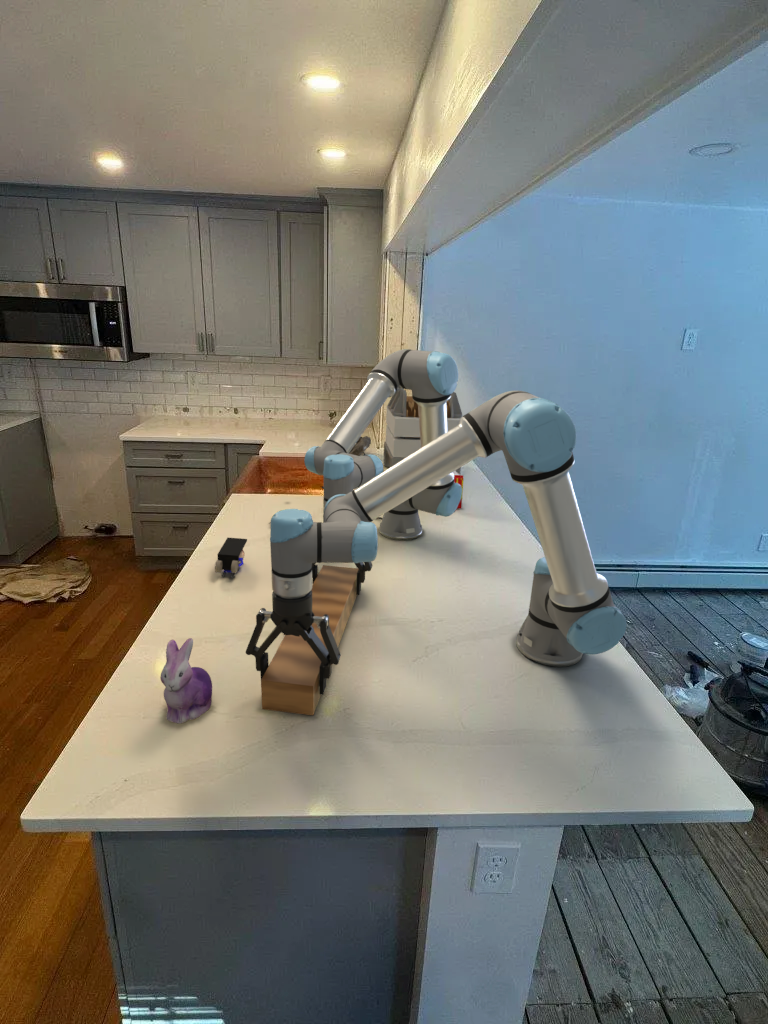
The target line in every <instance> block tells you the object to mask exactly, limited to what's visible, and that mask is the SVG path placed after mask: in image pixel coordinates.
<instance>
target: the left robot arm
mask: <svg viewBox="0 0 768 1024" xmlns="http://www.w3.org/2000/svg"><path fill="white" fill-rule="evenodd" d="M458 382H459V368H458V365H457V362H456V360H455V358H454V357H452V355H451V354H449V353H445V352H440V351H437V350H435V351H433V350H419V349H410V348H403V349H398V350H396V351H394V352H392V353H390V354H388V355H387V356H386V357H384V358H383V359H381V360H380V361H379V362H378V363H377V364H375V366H374V367H373V368H372V370H371V371H370V372H369V373H368V375H367V377H366V384H365V385H364V386H363V388H362V389H361V391H360V392H359V393H358V395H357V396H356V397H355V399H354V400H353V401H352V403H351V404H350V405H349V407H348V409H346V412H345V413H344V414H343V415H342V417H341V418H340V419H339V421H338V422H337V424H336V425H335V426H334V428H333V429H332V431H331V432H330V433H329V435H328V436H327V437H326V439H325V440H324V441H323V443H322V444H321V446H319V445H317V446H315V445H314V446H311V447H309V448H308V449H307V451H306V452H305V455H304V460H303V461H304V466H305V469H306V470H308V471H309V472H310V473H312V474H314V475H315V474H316V475H318V476H323V477H322V478H323V485H322V486H321V488H322V489H323V499H322V500H323V501H322V502H323V504H322V506H323V507H322V511H323V513H324V508H325V505H326V503H327V501H328V500H329V499H330V498H331V497H333V496H335V495H338V494H348V493H349V492H351V491H353V490H355V489H357V488H358V487H360V486H361V485H363V484H365V483H366V482H368V481H369V480H371V479H373V478H374V477H376V476H377V475H379V474H381V473H382V472H384V464H383V461H382V459H380V457H379V456H377V455H375V454H365V455H364V454H363V455H359V456H357V455H353V454H349V452H350V451H351V449H352V448H353V447H354V445H355V444H356V442H357V441H358V439H359V438H360V437H362V436H363V434H364V433H365V431H366V429H367V428H368V427H369V425H370V424H371V423H372V422H373V419H374V418H375V417H376V416H377V414H378V412H379V411H380V409H381V408H382V406H383V405H384V404H385V402H386V401H387V399H388V398H392V396H393V395H394V394H395V392H396V391H397V390H399V389H404V390H409V391H411V396H412V398H413V401H415V402H416V403H417V404H418V412H419V426H420V440H421V448H422V447H424V446H425V445H427V444H429V443H430V442H432V441H433V440H435V439H437V438H438V437H440V436H441V435H443V434H445V433H446V432H448V430H447V408H446V402H447V401H448V400H449V399H450V397H451V394H452V393H453V392H455V391H456V389H457V387H458ZM461 496H462V497H463V495H462V487H461V485H460V484H458V483H455V482H454V474H453V473H450V474H449V475H447V476H445V477H444V478H442V479H440V480H439V481H437V482H436V483H434V484H432V485H431V486H429V487H427V488H426V489H424V490H422V491H421V492H419V493H417V494H416V495H414V496H412V497H411V498H409V499H408V500H406V501H404V502H403V503H401V504H399V505H398V506H396V507H394V508H393V509H391V510H389V511H388V512H386V513H384V514H383V515H382V517H381V516H380V517H378V518H376V519H377V520H381V522H379V527H378V533H379V534H380V535H381V536H382V537H385V538H387V539H389V540H395V541H410V540H415V539H418V538H420V537H421V536H422V535H423V525H422V524H421V518H420V515H419V511H421V512H425V513H429V514H433V515H435V516H440V517H450V516H452V515H453V514H454V513H455V512H456V510H457V509H458V508H457V507H458V505H459V502H460V500H461ZM322 523H324V520H322ZM353 564H354V565H355V566H356V568H358V572H357V589H356V595H357V596H360V593H361V591H362V584H364V583H365V580H366V572H371V571H372V568H373V563H372V561H371V562H359V563H353ZM318 574H319V565H318V564H317V563H312V584H313V583H314V581H315V579H316V577H317V576H318Z"/></svg>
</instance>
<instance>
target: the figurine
mask: <svg viewBox="0 0 768 1024" xmlns="http://www.w3.org/2000/svg"><path fill="white" fill-rule="evenodd" d="M193 646H194V639H193V638H192V637H188V639H186V640H185V641H184V643H183V644H182V645H181V646H180V648H179V646H178V643H177V642H176V640H175V639H172V638H171V640H169V641H168V642H167V644H166V649H165V657H166V658H165V659H166V661H165V664H164V666H163V668H162V670H161V672H160V676H159V679H160V682H161V683H162V684H163V685H164V686H165V688H164V689H163V699H164V701H165V704H166V707H167V710H166V711H167V712H166V716H165V717H166V720H167V721H168V722H171V723H176V724H184V723H186V722H187V721H190V720H196V719H197V718H199V717H200V716H202V715H203V714H205V713H206V712H207V711H208V710H210V709H211V706H212V700H213V699H212V696H213V682H212V678H211V676H210V674H209V673H208V671H207V670H206V669H204V668H203V667H199V666H191V664H190V658H191V655H192V650H193Z"/></svg>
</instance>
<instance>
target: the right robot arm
mask: <svg viewBox="0 0 768 1024" xmlns="http://www.w3.org/2000/svg"><path fill="white" fill-rule="evenodd" d="M576 444H577V428H576V425H575V423H574V421H573V418H572V417H571V416H570V414H569V413H568V412H567V411H566V410H565V409H563V408H562V407H561V406H560V405H559V404H557V403H555V402H554V401H552V400H549V399H548V398H547V399H546V398H542V397H539V396H536V395H534V394H532V393H530V392H528V391H525V390H509V391H505V392H502V393H500V394H497V395H495V396H493V397H492V398H490V399H488V400H486V401H484V402H483V403H482V404H480V405H478V406H476V407H475V408H473V409H472V410H470V411H469V412H467V413H466V414H464V415H462V417H461V419H460V422H459V425H458V426H456V427H454V428H453V429H451V430H450V431H448V432H446V433H445V434H443V435H441V436H440V437H438V438H437V439H435V440H433V441H432V442H430V443H429V444H427V445H425V446H424V447H422V448H421V449H419V450H417V451H416V452H414V453H413V454H411V455H409V456H408V457H406V458H405V459H403V460H401V461H400V462H398V463H397V464H395V465H393V466H392V467H388V468H386V469H385V470H383V472H382V473H381V474H379V475H377V476H376V477H374V478H373V479H371V480H369V481H368V482H366V483H365V484H363V485H361V486H360V487H358V488H356V489H353V491H351V492H349V493H348V494H338V495H335V496H333V497H331V498H330V499H329V500H328V501H327V503H326V505H325V508H324V513H323V514H322V519H323V520H324V523H323V522H320V521H319V522H318V521H317V522H316V521H314V520H313V516H312V514H311V513H310V512H309V511H308V510H305V509H298V508H286V509H282V510H278V511H277V512H275V513H274V514H273V515H272V517H271V518H270V522H271V523H270V532H269V533H270V534H269V544H270V564H271V566H270V567H271V571H270V572H271V590H272V593H271V600H272V601H271V603H272V605H271V606H272V610H271V611H270V610H267V609H266V608H265V607H261V608H260V609H259V611H258V612H257V613H256V614H255V615H256V616H255V622H256V624H255V627H254V629H253V631H252V634H251V637H250V639H249V642H248V644H247V647H246V649H245V654H246V655H247V656H253V657H254V658H255V670H256V671H257V672H260V680H261V679H262V677H263V676H264V674H265V672H266V670H267V668H268V666H269V664H270V663H269V652H267V650H268V649H269V648H270V646H271V645H272V644H273V643H274V642H275V640H276V639H277V638H278V637H279V636H280V634H281V633H282V634H283V636H285V635H294V636H300V635H301V637H302V638H303V639H304V641H307V643H308V644H309V645H310V647H311V648H312V649H313V651H314V652H315V654H316V655H317V656H318V658H319V659H320V661H321V664H320V694H321V696H324V695H325V692H326V689H327V680H329V679H330V677H331V675H332V665H334V666H337V665H338V664H339V662H340V660H341V656H342V654H341V652H340V649H339V646H337V644H336V641H335V639H334V636H333V634H332V631H331V629H330V626H329V616H328V615H327V614H324V615H323V617H320V616H314V614H313V611H312V585H313V578H312V563H316V564H321V563H322V564H323V563H325V564H334V563H335V564H336V563H337V564H354V563H359V562H363V563H364V562H371V563H372V562H373V561H375V560H376V558H377V556H378V548H379V547H378V545H379V544H378V542H379V541H378V538H379V537H378V528H377V525H376V524H375V523H374V521H375V520H376V519H377V518H378V517H381V516H383V515H384V513H386V512H388V511H389V510H391V509H393V508H394V507H396V506H398V505H399V504H401V503H403V502H404V501H406V500H408V499H409V498H411V497H412V496H414V495H416V494H417V493H419V492H421V491H422V490H424V489H426V488H427V487H429V486H431V485H432V484H434V483H436V482H437V481H439V480H440V479H442V478H444V477H445V476H447V475H449V474H450V473H452V472H454V471H455V470H457V469H459V468H460V467H461V468H463V466H466V465H467V464H468V463H470V462H472V461H474V460H475V459H477V458H484V459H487V458H488V457H490V456H491V455H493V454H495V453H497V452H500V451H502V453H503V456H504V459H505V463H506V465H507V469H508V471H509V474H510V477H511V480H512V481H513V482H515V483H517V484H519V485H522V489H523V491H524V494H525V497H526V500H527V504H528V508H529V510H530V513H531V518H532V520H533V523H534V526H535V530H536V533H537V536H538V539H539V542H540V545H541V548H542V552H543V555H544V556H542V557H541V558H538V560H537V561H536V563H535V567H534V571H533V577H532V585H531V592H530V600H529V606H528V607H529V608H528V613H527V615H526V617H525V619H524V621H523V623H522V625H521V626H520V628H519V630H518V632H517V635H516V641H515V643H516V647H517V649H518V651H519V652H520V653H521V654H522V655H523V656H524V657H526V658H527V659H529V660H531V661H533V662H536V663H538V664H540V665H545V666H549V667H558V668H560V667H561V668H562V667H571V666H573V665H575V664H578V663H579V662H580V661H581V659H582V658H583V655H587V656H592V655H593V656H595V655H600V654H603V653H606V652H608V651H610V650H612V649H613V648H614V647H615V646H617V645H618V644H619V642H620V640H621V639H622V638H623V637H624V635H625V633H626V630H627V620H626V617H625V615H624V614H623V611H622V610H621V609H620V608H619V607H617V606H616V605H615V603H614V601H613V598H612V593H611V589H610V586H609V583H608V579H607V578H606V577H605V576H603V575H602V574H600V573H598V572H597V569H596V566H595V563H594V557H593V554H592V551H591V547H590V544H589V541H588V537H587V532H586V530H585V526H584V523H583V518H582V515H581V511H580V508H579V504H578V500H577V497H576V493H575V490H574V487H573V482H572V479H571V475H570V470H571V469H572V467H573V466H574V465H575V456H574V452H573V450H574V449H576ZM323 520H322V521H323ZM269 620H271V621H272V623H273V624H274V625H275V627H274V628H273V629H272V631H271V632H270V633H269V634H268V635H267V637H266V638H265V639H264V641H262V643H261V644H260V645H259V646H257V644H258V642H259V639H260V637H261V635H262V632H263V629H264V627H265V624H266V623H267V622H268V621H269ZM313 623H315V624H316V625H317V627H318V629H320V632H321V635H322V638H323V640H324V643H325V645H326V647H325V646H324V645H323V643H322V642H321V640H320V639H319V638H318V636H317V635H316V633H315V632H314V628H313V627H312V626H311V625H312V624H313ZM306 631H307V632H306ZM326 648H327V649H326ZM331 664H332V665H331Z"/></svg>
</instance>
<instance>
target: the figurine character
mask: <svg viewBox="0 0 768 1024" xmlns="http://www.w3.org/2000/svg"><path fill="white" fill-rule="evenodd" d="M247 542H248V538H240V537H226V539H225V541H224V543H223V544H222V546H221V547H220V549H219V551H218V552H217V560H216V562H215V564H214V572H215V573H221V577H222V578H224V577H225V576H226V574H227V573H230V574H231V573H232V574H231V578H234V577H235V575H236V573H237V572H239V571H240V567H242V566H243V565H244V564H245V562H244V558H245V551H244V547H245V546H246V544H247Z"/></svg>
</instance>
